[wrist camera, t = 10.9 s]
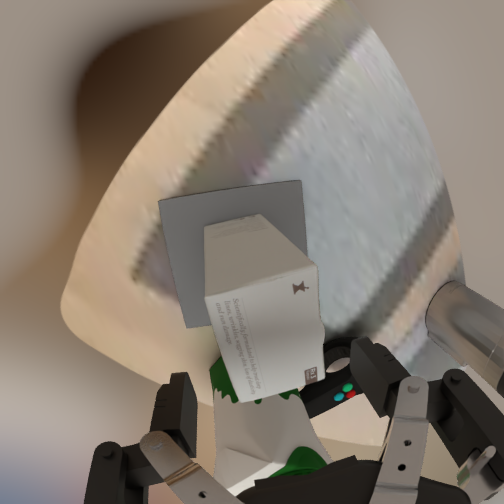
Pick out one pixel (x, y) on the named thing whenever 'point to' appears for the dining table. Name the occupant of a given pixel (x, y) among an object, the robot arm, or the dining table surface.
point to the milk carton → (261, 436)
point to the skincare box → (263, 307)
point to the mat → (216, 211)
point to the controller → (331, 381)
